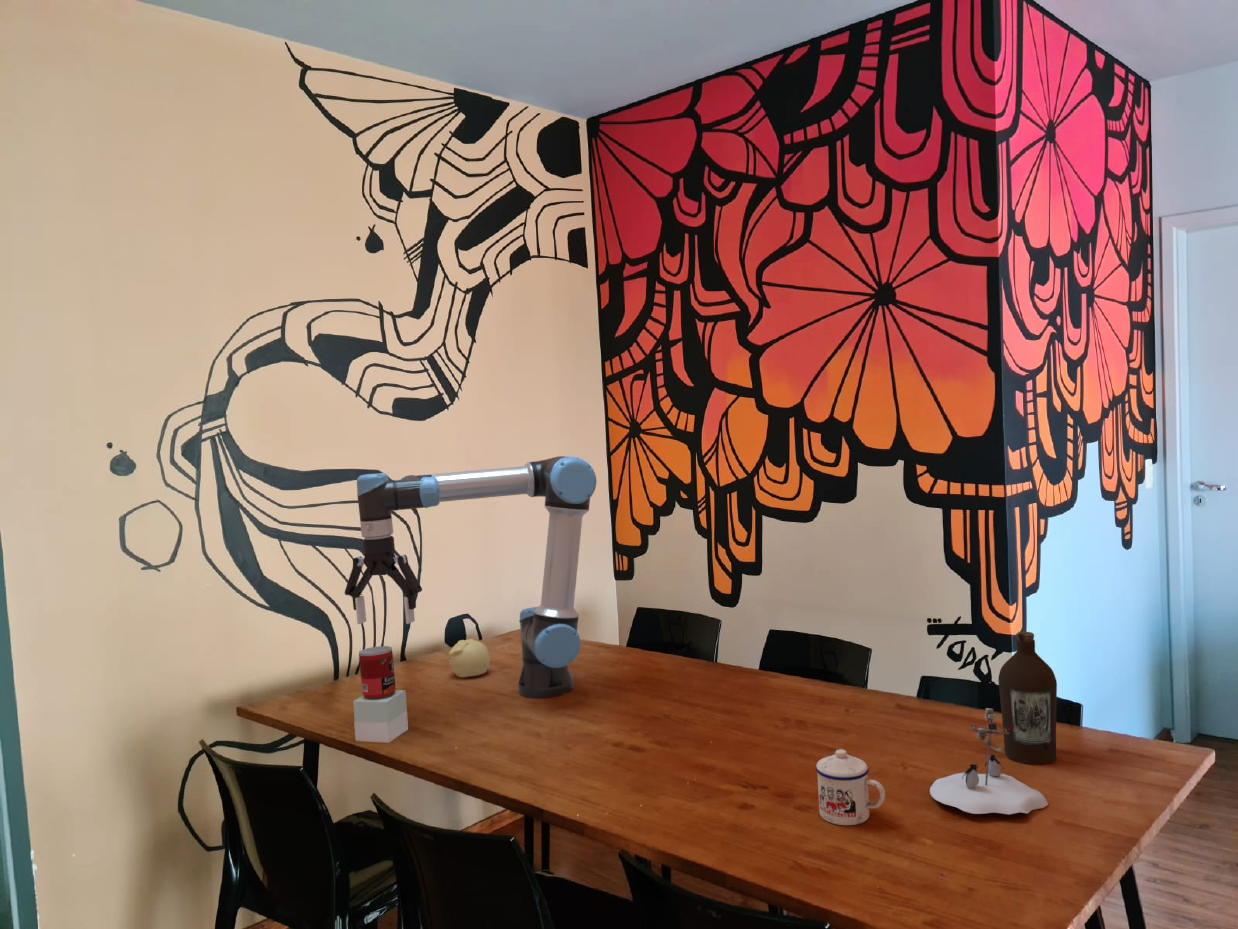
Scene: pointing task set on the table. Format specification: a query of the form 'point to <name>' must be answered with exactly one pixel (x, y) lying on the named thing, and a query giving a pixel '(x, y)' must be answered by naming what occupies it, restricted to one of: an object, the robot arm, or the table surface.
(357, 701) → the tower top
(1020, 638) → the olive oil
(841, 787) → the teacup with lid
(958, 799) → the figurine
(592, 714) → the table surface
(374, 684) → the canned food
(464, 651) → the sculpture
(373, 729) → the tower base
